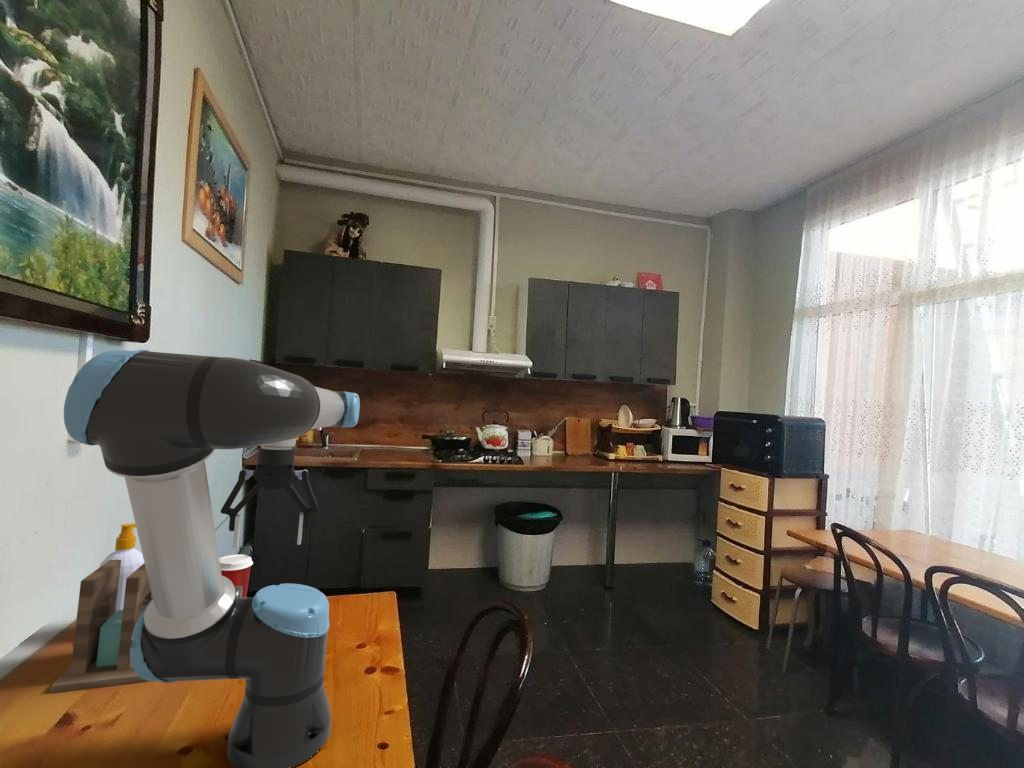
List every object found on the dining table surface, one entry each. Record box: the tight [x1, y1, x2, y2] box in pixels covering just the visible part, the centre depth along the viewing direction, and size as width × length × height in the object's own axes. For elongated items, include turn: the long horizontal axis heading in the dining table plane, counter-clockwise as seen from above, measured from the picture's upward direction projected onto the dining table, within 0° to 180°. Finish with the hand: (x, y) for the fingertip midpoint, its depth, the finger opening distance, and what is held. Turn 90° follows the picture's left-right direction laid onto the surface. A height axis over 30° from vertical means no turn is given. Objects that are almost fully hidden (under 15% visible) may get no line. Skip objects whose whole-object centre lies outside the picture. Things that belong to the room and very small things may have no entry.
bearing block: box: [49, 560, 153, 694], centre depth 95 cm, size 18×17×18 cm
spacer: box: [96, 610, 123, 667], centre depth 94 cm, size 8×4×8 cm, turn 21°
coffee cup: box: [219, 553, 254, 597], centre depth 113 cm, size 8×8×15 cm
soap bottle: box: [98, 522, 144, 611], centre depth 106 cm, size 9×9×24 cm
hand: (268, 544), depth 104 cm, fingers open, 12 cm apart
